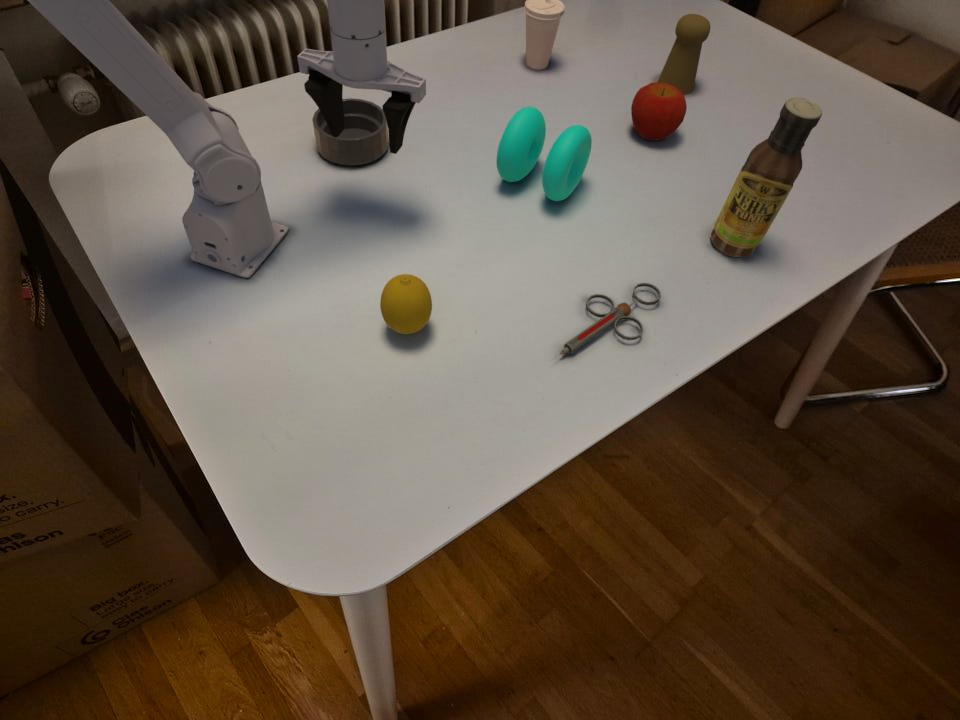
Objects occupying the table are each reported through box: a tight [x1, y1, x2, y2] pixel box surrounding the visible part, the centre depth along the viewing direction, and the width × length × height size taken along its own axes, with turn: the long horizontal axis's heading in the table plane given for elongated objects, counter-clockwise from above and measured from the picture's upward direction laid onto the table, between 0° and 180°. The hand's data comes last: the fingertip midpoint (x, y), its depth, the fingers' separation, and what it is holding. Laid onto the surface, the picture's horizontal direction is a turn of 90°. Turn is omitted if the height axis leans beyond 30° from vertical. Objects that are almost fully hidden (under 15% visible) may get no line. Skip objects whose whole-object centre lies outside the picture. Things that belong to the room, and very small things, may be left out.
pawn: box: [657, 13, 711, 96], centre depth 106 cm, size 6×6×11 cm
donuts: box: [496, 106, 592, 202], centre depth 88 cm, size 10×10×10 cm
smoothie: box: [523, 0, 565, 71], centre depth 107 cm, size 6×6×14 cm
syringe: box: [550, 282, 662, 362], centre depth 76 cm, size 8×18×2 cm, turn 131°
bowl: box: [311, 97, 389, 166], centre depth 93 cm, size 10×10×4 cm
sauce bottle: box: [710, 97, 823, 258], centre depth 79 cm, size 6×6×20 cm
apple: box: [630, 81, 688, 141], centre depth 98 cm, size 8×8×8 cm
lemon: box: [379, 273, 433, 335], centre depth 72 cm, size 6×6×8 cm
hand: (367, 140), depth 80 cm, fingers open, 7 cm apart
